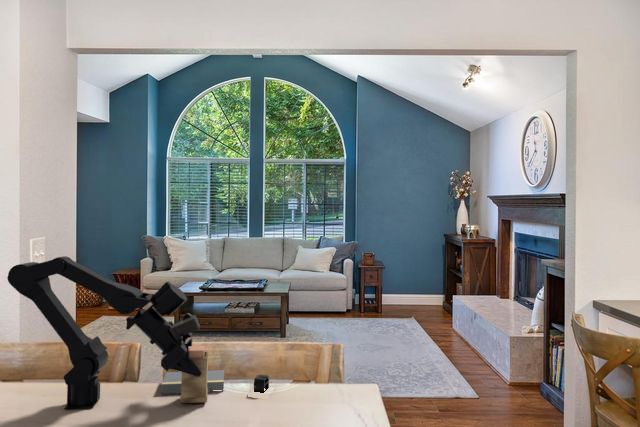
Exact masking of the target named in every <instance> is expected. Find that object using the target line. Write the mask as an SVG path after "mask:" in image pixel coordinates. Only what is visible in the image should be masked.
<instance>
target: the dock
mask: <svg viewBox="0 0 640 427" xmlns="http://www.w3.org/2000/svg"><path fill="white" fill-rule="evenodd" d="M181 382H182V372H181V371H168V372H167V371H166V372H165V375H164V378H163V380H162V383H161V385H160V386H161V388H160V390H161V391H160V392H161V395H169V394H170V393H175V394H181ZM224 384H225V370H224V369H222V370H220V369H219V370H218V369H217V370H208V378H207V388H208V391H213V390H223V389H224V388H225V387H224ZM224 390H225V389H224Z"/></svg>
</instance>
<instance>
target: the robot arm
mask: <svg viewBox="0 0 640 427" xmlns="http://www.w3.org/2000/svg"><path fill="white" fill-rule="evenodd" d="M55 275H60V276H61V277H64V278H65V279H67V280H69V281H71V282H73V283H75V284H76V285H79V286H80V287H82V288H84V289H86V290H88V291H90V292H92V293H94V294H95V295H98V296H99V297H101V298H102V299H103V300H104V301H105V302H106V304H108V306H110V307H111V308H112V309H113V310H114V311H116V312H118V313H119V314H121V315H129V316H127V317H126V326H125V329H126V331H128V330H130V329H131V328H132V327H133V326H136V327H137V328H138V329H139V330H140V331H141V332H142V333H143V334H145V336H146V337H147V338H148V339H149V343H150V344H151V345H155V346H157V347H158V348H159V349H160V351H161V355H162V357H161V359H160V367H162V369H163V370H165V371H166V372H167V371H168V372H169V371H170V370H174V371H176V372H184V373H187V374H191V375H194V376H197V377H199V376H200V375H201V372H200V370H199V369H198V368H197V366H196V365H195V364H194V362H193V361H192V359H191V358H190V357H189V348H188V347H189V346H193V337H192V335H193V333H195V332H198V331H199V330H200V328H201V324H200V323H199V320H198V317H197V315H195V314H193V315H192V314H191V313H189V312H186V313H184V314H183V315H182V319H181V320H179V321H178V322H176V323H174V322H173V321H170V320H168V321H167V319H165V318H164V317H165V316H168V317H170V316H172V314H174V313H175V312H176V311H177V310H178V309H179V308H180V307H181V306H182V305H183V304H185V303H186V301H188V297H187V295H186V294H185V293H184V292H183V290H181V289H180V288H178V287H177V286H176V285H174V284H173V283H171V282H170V281H166V282H165V283H164V284H162V286H161V287H160V288H159V289H158V290H157V291H156V292H155V293H148V292H143V291H142V290H141V289H139V288H137V287H135V286H132V285H129V284H126V283H121V282H120V283H119V282H116V281H114V280H111V279H109V278H106V277H105V276H103V275H101V274H100V273H98V272H95V271H93V270H92V269H90V268H88V267H86V266H84V265H82V264H80V263H78V262H76V261H75V260H73V259H72V258H71V257H69V256H59V257H55V258H53V259H50V260H47V261H43V262H35V261H31V262H30V261H29V262H25V263H21V264H16V265H14V266H11V267H10V270H8V273H7V282H8V283H9V285H10V286H11V287H12V288H13V289H15V291H17V292H18V293H19V294H20V295H22V296H23V297H24V298H27V299H29V300H31V301H32V302H33V303H34V305H35V306H36V307H37V309H38V311H39V312H40V313H41V314H42V315H43V317H44V318H45V319H46V321H47V322H48V323H49V325H50V326H51V327H52V329H53V331H55V333H57V335H58V337H59V338H60V339H61V340H62V342H63V343H64V344H65V346H66V347H67V350H68V356H69V360H70V363H71V364H72V366H73V367H72V368H71V369H70V370H69V371H68V372H67V373H66V374H64V375H63V380H64V382H65V385H67V386H66V394H67V395H66V405H64V410H76V409H79V410H80V409H92V408H93V409H94V407H95V406H96V404H97V403H98V402H99V400H100V399H101V382H99V376H98V375H99V374H100V371H101V369H102V368H104V367H105V366H106V365H107V362H108V358H109V354H108V351H107V350H108V347H107V346H106V345H104V344H103V342H102V340H101V338H100V337H99V335H96V336H95V337H93V338H91V337H89V336H87V335H86V334H85V332H84V331H83V330H82V329H81V327H80V326H79V324H78V323H77V322H76V320H75V319H74V318H73V316H72V315H71V314H70V312H69V311H68V310H67V309H66V307H65V306H64V304H63V303H62V302H61V300H60V299H59V297H58V296H57V295H56V294H55V292H54V291H53V289H52V286H51V280H50V276H55ZM150 303H151V304H150ZM149 304H150V306H149V307H148V308H147V309H144V307H146V306H147V305H149ZM137 310H138V311H137ZM135 311H137V312H136V313H135V314H134V315H133V316H130V314H132V313H134V312H135ZM163 316H164V317H163ZM188 338H190V339H189V340H188Z"/></svg>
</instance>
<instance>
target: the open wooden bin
mask: <svg viewBox="0 0 640 427" xmlns="http://www.w3.org/2000/svg"><path fill="white" fill-rule="evenodd" d="M191 359H192V361H193V362H194V364H195V365H196V366H197V368H198V369H199V370H200V372H201V375H200V376H199V377H197V376H194V375H191V374H187V373H184V372H182V382H181V393H180V397H179V404H189V403H190V404H191V403H193V404H194V403H207V401H208V395H209V392H208V388H207V378H208V371H209V351H205V354H204V358H191Z"/></svg>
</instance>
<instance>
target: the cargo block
mask: <svg viewBox="0 0 640 427" xmlns="http://www.w3.org/2000/svg"><path fill="white" fill-rule="evenodd" d="M188 348H189V357H190V358H204V354H205V350H206V349H205V348H206V346H205V345H203V346H202V345H200V346H199V345H192V346H189V347H188Z"/></svg>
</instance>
